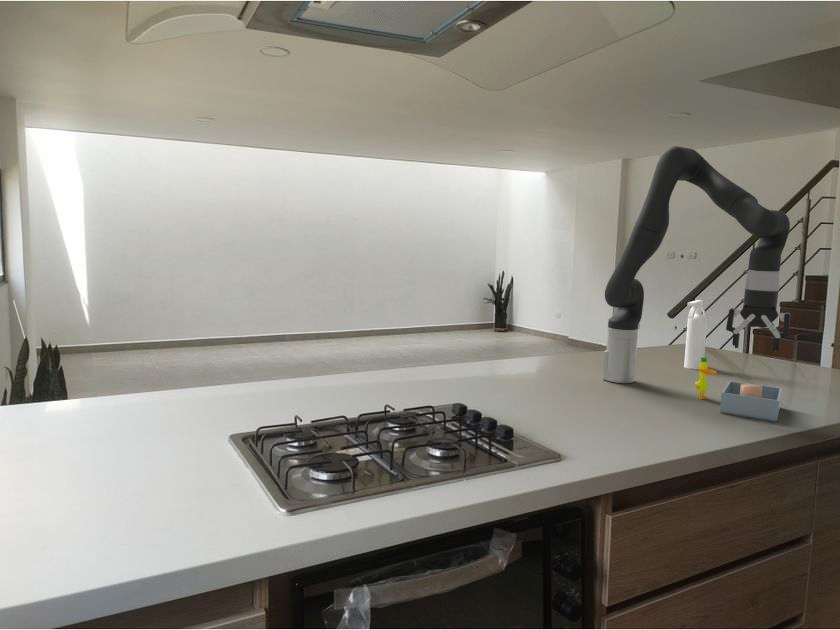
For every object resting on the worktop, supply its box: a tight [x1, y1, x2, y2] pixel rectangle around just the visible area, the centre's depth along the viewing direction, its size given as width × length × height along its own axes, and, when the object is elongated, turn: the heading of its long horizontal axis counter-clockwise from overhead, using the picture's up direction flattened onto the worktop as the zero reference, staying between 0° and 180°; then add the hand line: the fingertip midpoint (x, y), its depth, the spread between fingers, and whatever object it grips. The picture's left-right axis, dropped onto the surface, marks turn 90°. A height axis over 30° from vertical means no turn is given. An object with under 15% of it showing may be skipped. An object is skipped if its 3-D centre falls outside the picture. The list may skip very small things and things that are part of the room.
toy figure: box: [694, 356, 717, 400], centre depth 169 cm, size 7×4×12 cm, turn 24°
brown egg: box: [740, 383, 763, 398], centre depth 155 cm, size 5×5×7 cm
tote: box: [719, 380, 783, 423], centre depth 158 cm, size 13×17×6 cm
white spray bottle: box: [683, 299, 708, 371], centre depth 213 cm, size 7×12×25 cm, turn 125°
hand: (755, 349), depth 153 cm, fingers open, 8 cm apart
